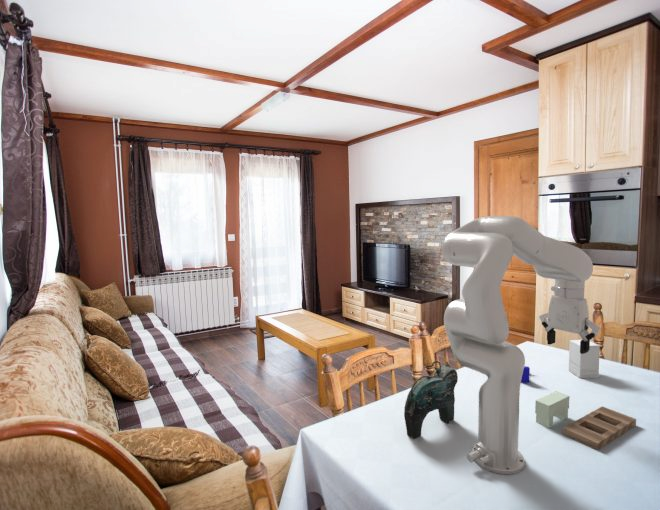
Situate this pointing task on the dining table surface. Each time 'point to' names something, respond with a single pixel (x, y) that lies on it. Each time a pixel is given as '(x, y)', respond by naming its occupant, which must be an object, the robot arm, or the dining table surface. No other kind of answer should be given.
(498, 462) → the robot arm
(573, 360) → the supplement box
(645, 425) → the dining table surface
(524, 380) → the cable clip
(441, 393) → the green ceramic figurine
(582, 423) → the brown wooden board
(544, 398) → the tall sage green block
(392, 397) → the dining table surface
